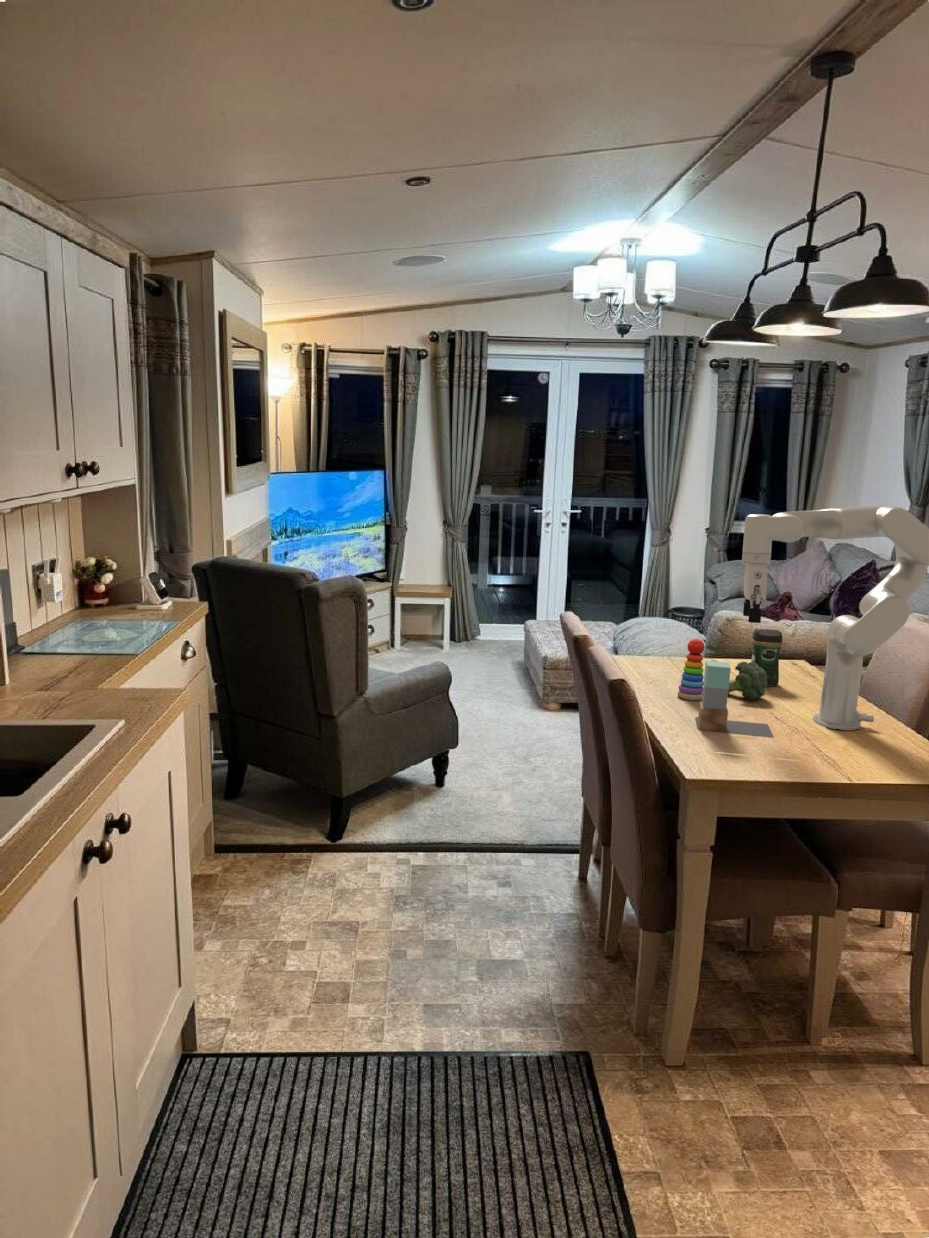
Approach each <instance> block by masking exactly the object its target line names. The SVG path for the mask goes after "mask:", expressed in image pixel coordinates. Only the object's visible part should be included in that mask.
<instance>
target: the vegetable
mask: <svg viewBox="0 0 929 1238" xmlns="http://www.w3.org/2000/svg"><path fill="white" fill-rule="evenodd" d="M734 670H735V671H737V672H738V675H736V676H735V679H729V689H728V695H729V694H730V693H732V692H736V691H737V692H742V693H741V695H742V696H743V697H744V699H745V700H748V701H750V702H753V701H756V699H760V698H762V697H763V696H765V694H766V688H767V687H768V686H767V674H766V672H765V671H764V670H763V669H762V668H761V667H759V665H758V664H757V663H753V662H751V661H749V662H747V661H740V662H738V663H737V665H736V666H735V668H734Z"/></svg>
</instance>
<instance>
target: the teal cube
mask: <svg viewBox="0 0 929 1238" xmlns="http://www.w3.org/2000/svg"><path fill="white" fill-rule="evenodd" d="M731 669H732V668H731V666H730V663H729V662H727V661H724V662H723V661H713V660H705V667H704V674H703V676H704V678H703V682H704V684H705V687H708V688H720V689H729V680H731V679H730V678H731Z"/></svg>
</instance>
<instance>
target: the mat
mask: <svg viewBox="0 0 929 1238" xmlns="http://www.w3.org/2000/svg"><path fill="white" fill-rule="evenodd" d="M694 718H695V719H694V720H695V724H696V729H697V731H700V732H702V731H703V732H708V731H707V730H699V725H698V717H696V716H695V717H694ZM709 732H711V733H718V732H717V731H709ZM719 733H721V734H732V735H740V736H741V735H743V736H752V737H762V738H771V739H772V738H774V739H775V736H774V733H772V731H771V729H770V726H769V724H768V723H758V722H750V721H749V722H747V721H740V720H739V721H737V720H728V719H727V727H726V732H719Z"/></svg>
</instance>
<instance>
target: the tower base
mask: <svg viewBox="0 0 929 1238" xmlns="http://www.w3.org/2000/svg"><path fill="white" fill-rule="evenodd" d="M728 717H729V710H728V707H727V706H726V710H715V709H704V708H703V705H702V701H699V707H698V725H699V730H698V731H700V730H707V731H706V732H710V731H717V732H716V733H720V732H726V727H727V720H728Z"/></svg>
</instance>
